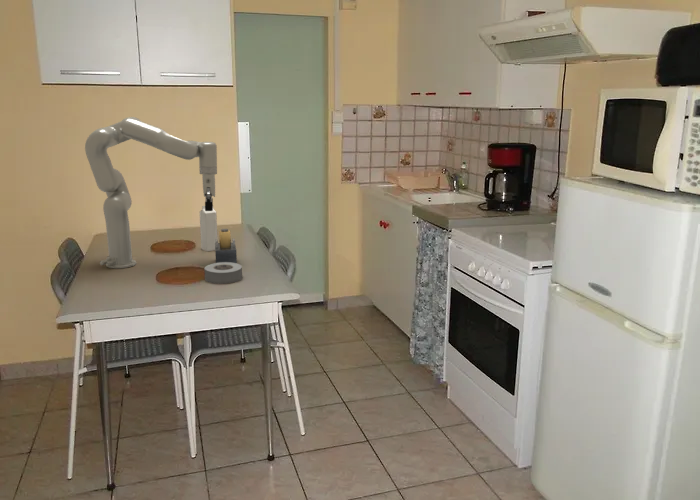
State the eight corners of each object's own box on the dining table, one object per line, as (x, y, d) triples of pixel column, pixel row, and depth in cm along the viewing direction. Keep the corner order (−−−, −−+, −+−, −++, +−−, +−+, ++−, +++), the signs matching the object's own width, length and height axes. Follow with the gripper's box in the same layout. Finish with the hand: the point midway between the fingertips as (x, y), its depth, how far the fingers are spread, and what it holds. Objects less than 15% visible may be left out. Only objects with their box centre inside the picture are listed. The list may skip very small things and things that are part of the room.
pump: (226, 248, 266) (225, 231, 264) (217, 246, 268) (216, 229, 266) (233, 246, 270) (232, 229, 268) (224, 244, 273) (224, 227, 271)
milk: (218, 249, 296) (216, 205, 291) (207, 251, 292) (205, 207, 286) (211, 247, 300) (210, 203, 295) (200, 249, 296) (199, 205, 291)
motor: (236, 267, 266) (236, 243, 263) (216, 268, 264) (215, 243, 261) (235, 257, 282) (234, 234, 279) (215, 258, 280) (214, 235, 277)
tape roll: (247, 281, 247) (247, 269, 246) (211, 286, 239) (210, 274, 238) (235, 271, 260) (234, 260, 258) (200, 276, 252) (199, 264, 251)
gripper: (217, 173, 255) (217, 212, 259) (217, 168, 272) (217, 205, 276) (198, 172, 254) (199, 212, 258) (199, 168, 270) (200, 205, 274)
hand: (209, 208), depth 267 cm, fingers open, 9 cm apart
